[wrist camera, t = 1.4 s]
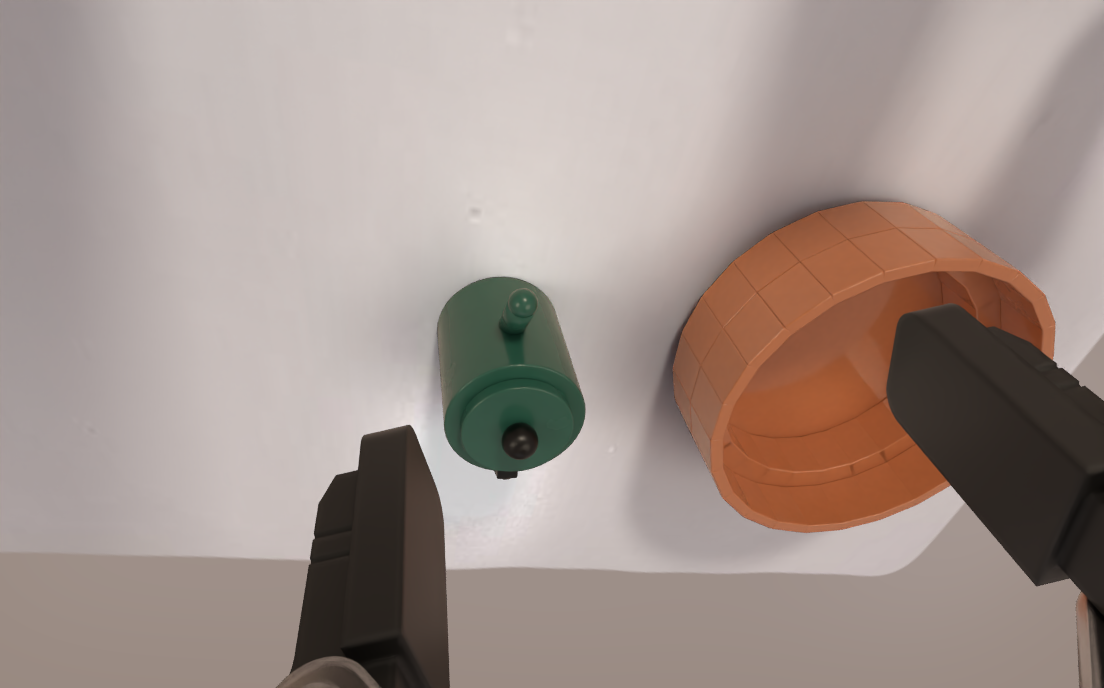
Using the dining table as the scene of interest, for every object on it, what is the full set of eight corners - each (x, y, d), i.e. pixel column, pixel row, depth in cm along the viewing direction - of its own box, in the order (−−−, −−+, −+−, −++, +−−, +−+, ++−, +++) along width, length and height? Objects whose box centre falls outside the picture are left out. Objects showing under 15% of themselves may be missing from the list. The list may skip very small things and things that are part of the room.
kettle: (546, 400, 35) (580, 528, 29) (436, 403, 34) (444, 538, 27) (569, 222, 29) (618, 332, 23) (438, 220, 28) (448, 334, 22)
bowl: (643, 458, 39) (677, 543, 34) (710, 191, 30) (769, 257, 25) (892, 444, 42) (955, 521, 37) (1023, 200, 33) (1128, 260, 28)
